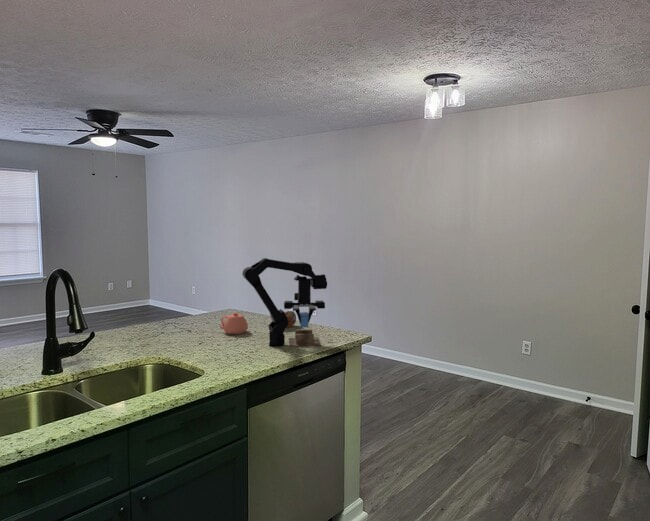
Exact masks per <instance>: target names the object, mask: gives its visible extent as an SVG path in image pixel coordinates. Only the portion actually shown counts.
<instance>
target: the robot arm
mask: <svg viewBox="0 0 650 521" xmlns="http://www.w3.org/2000/svg"><path fill="white" fill-rule="evenodd" d="M269 268H270V269H275V270H277V269H278V270H283V271H289V272H293V273H296V274H297V275H296V276H295V277H294V278H293V280H294V281H297V282H298V286H297V287H298V288H297V292H294V295H293V296H294V298H293V299H294V301H297V302H294V301H293V300H285V301H284V302H283V308H284V310H285V309H286V310H291V309H292V311H293V312H295V314H296V315H297V319H298V321H299V324H300V323H301V318H300V312H301V311H300V307H302V308H303V307H308V316H309V318H308V324H309V323H310V320H311V318H312V316H313V313H314V311H317V309H326V302H325V301H324V300H315V301H314V302H312V301H311V295H312V294H311V289H312V288H313V290H326V289H327V288H328V281H327V277H326V274H324V273H323V274H322V273H321V274H315V272H314V271H313V267H312V265H311V264H310V263H307V262H304V261H298V262H297V261H296V262H289V261H288V262H287V261H283V260H276V259H272V258H271V259H269V258H267V257H262V258H261V260H259V261H258V262H256V263H254V264H252V265H251V266H247V267H245V268H243V270H242V277H243V278H244V279H245V280H246V281H247V283H249V284H250V286H252V287H253V288H254V290H255V292H256V293H257V295H258V296H259V298H260V300H261V301H262V303H263V305H264V306H265V308H266V309H267V310H268V312H269V315H270V318H271V322H270V323H269V324H268V326H267V328H268V330H269V335H268V336H269V343H268V344H269V345H268V347H269V348H270V347H284V346H285V344H286V343H285V342H286V341H285V338H286V337H285V336H286V334H285V333H284V332H285V330H286V329H287V328H286V327H287V326H288V320H287V319H288V318H287V317H286V315H285V313H284V312H285V311H284V310H283V309H281V308H280V309H278V307H277V306H276V304H275V303H274V301H273V299H272V298H271V297H270V295H269V294H268V292H267V290H266V289H265V287H264V285H263V284H262V280H261V278H260V275H261V274H262V273H263V272H264V271H266V269H269ZM300 275H302V276H300ZM307 277H309V278H307Z"/></svg>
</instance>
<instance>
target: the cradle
mask: <svg viewBox="0 0 650 521" xmlns="http://www.w3.org/2000/svg"><path fill="white" fill-rule="evenodd" d="M294 332H295V333H294V334H295V336H294V337H288V344H289V347H290V348H303V347H304V348H306V347H321V346H322V345H321V342H320V339H319V337H318V336H316V337H315V334H314V333H313V329H309V328H308V329H307V328H306V329H295V330H294Z"/></svg>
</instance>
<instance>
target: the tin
mask: <svg viewBox="0 0 650 521" xmlns="http://www.w3.org/2000/svg"><path fill="white" fill-rule="evenodd" d="M284 313H285V315H286V317H287V318H288V319H287V320H288V326H287V327H286V328H285V329H287V328H292V327H293V326H294V325H295V324H296V321H297V316H296V315H297V314H296V312H295V311H293V310H287V311H284Z"/></svg>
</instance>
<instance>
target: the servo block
mask: <svg viewBox="0 0 650 521" xmlns="http://www.w3.org/2000/svg"><path fill="white" fill-rule="evenodd" d="M308 313H309V311H308V312H307V311H305V312H301V311H300V318H301V323H300V322H299V324H300V325H299V326H300V328H309V323H308V318H309V316H308Z"/></svg>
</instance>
